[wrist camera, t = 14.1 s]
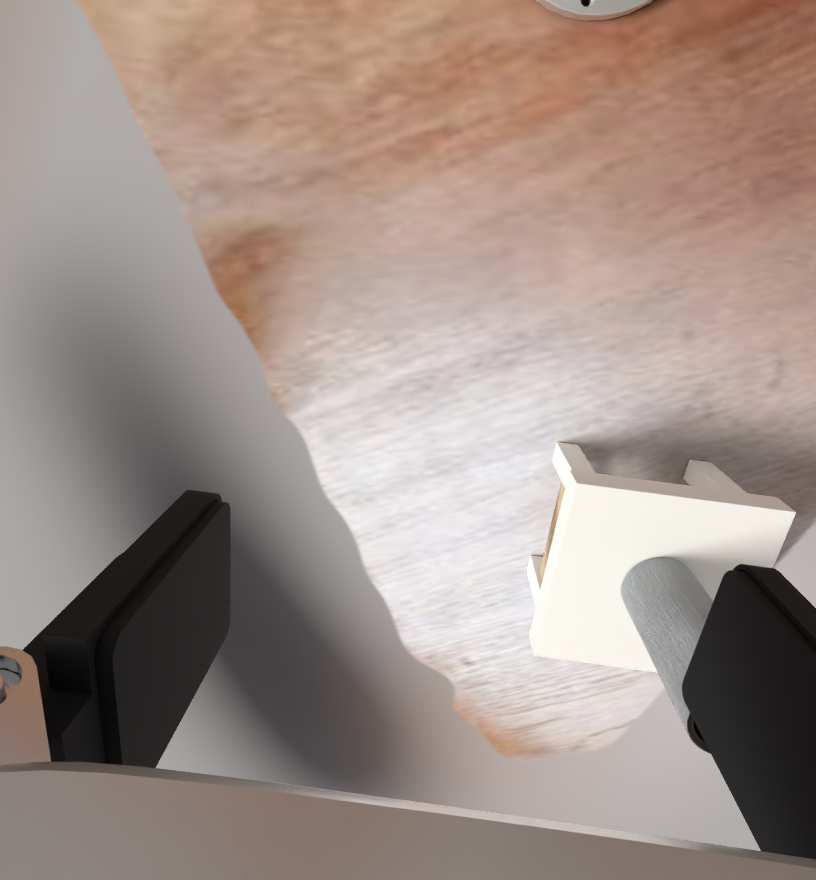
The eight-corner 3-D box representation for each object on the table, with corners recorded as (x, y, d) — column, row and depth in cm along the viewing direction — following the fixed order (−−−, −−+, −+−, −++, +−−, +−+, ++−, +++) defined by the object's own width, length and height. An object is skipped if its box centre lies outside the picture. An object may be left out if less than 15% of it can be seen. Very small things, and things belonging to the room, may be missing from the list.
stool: (549, 432, 41) (576, 483, 32) (723, 454, 41) (796, 512, 32) (516, 577, 45) (533, 655, 37) (672, 598, 45) (724, 681, 37)
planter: (709, 582, 34) (813, 718, 25) (656, 627, 36) (734, 773, 26) (657, 543, 33) (743, 667, 24) (604, 591, 35) (665, 726, 25)
